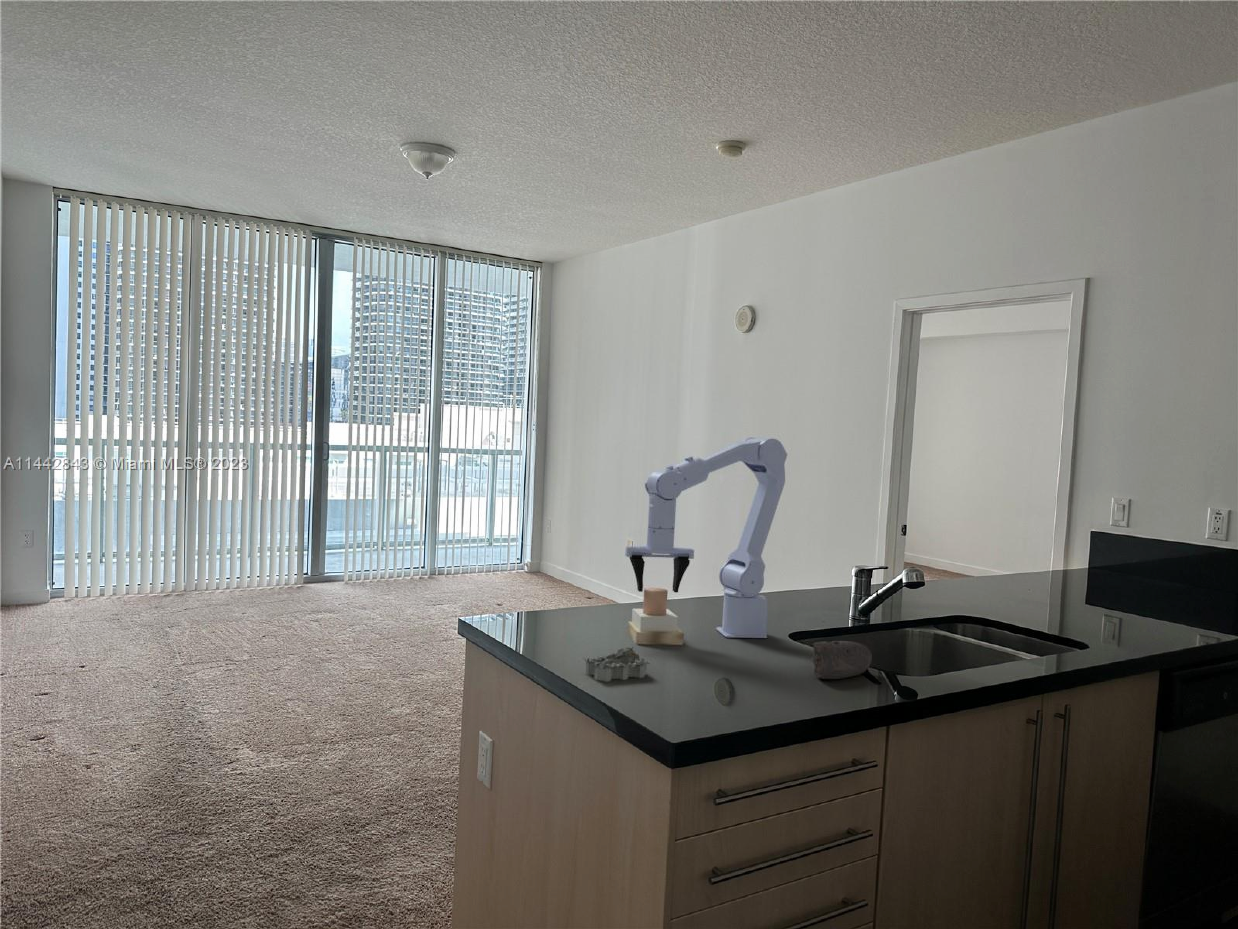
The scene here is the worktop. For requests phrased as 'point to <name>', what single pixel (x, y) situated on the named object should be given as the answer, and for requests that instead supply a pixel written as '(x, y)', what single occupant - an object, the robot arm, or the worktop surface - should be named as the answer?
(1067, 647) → the worktop surface
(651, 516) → the robot arm
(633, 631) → the tower base
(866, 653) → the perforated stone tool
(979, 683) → the worktop surface
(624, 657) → the grey carved stone fragment
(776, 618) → the worktop surface
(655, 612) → the cylinder
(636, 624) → the tower top
